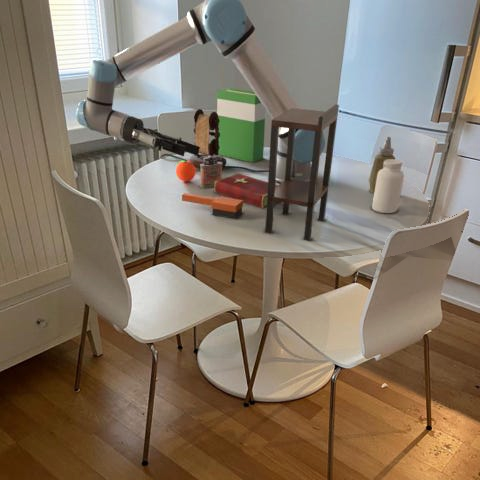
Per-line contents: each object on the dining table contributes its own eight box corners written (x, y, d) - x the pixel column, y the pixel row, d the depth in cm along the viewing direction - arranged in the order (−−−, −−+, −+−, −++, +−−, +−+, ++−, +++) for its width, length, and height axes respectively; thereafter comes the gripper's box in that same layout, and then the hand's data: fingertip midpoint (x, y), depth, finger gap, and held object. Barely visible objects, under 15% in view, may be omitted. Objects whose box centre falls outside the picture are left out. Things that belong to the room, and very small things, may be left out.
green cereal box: (217, 154, 210) (217, 90, 196) (228, 150, 215) (228, 87, 201) (252, 162, 202) (255, 95, 188) (263, 158, 207) (266, 93, 193)
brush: (179, 209, 159) (178, 196, 156) (187, 203, 163) (187, 190, 161) (235, 219, 153) (236, 206, 151) (242, 212, 157) (243, 200, 155)
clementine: (170, 182, 180) (168, 161, 176) (179, 176, 185) (178, 156, 181) (190, 185, 177) (189, 164, 173) (199, 179, 183) (198, 159, 178)
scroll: (179, 167, 194) (177, 110, 182) (203, 159, 204) (202, 104, 192) (210, 175, 187) (210, 116, 176) (234, 166, 197) (234, 110, 186)
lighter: (202, 188, 175) (202, 158, 169) (198, 185, 177) (198, 156, 171) (224, 185, 178) (224, 156, 172) (219, 182, 180) (219, 153, 175)
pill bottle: (368, 205, 166) (376, 157, 157) (392, 204, 166) (401, 157, 158) (375, 214, 159) (384, 165, 150) (400, 213, 160) (411, 165, 151)
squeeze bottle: (391, 196, 173) (402, 141, 162) (366, 194, 174) (376, 139, 163) (390, 189, 179) (400, 135, 169) (366, 187, 180) (376, 133, 170)
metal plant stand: (265, 232, 145) (272, 111, 127) (283, 212, 158) (292, 100, 140) (309, 240, 141) (322, 116, 123) (324, 219, 154) (339, 104, 136)
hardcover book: (262, 208, 160) (263, 195, 158) (214, 192, 172) (214, 180, 169) (285, 199, 168) (286, 186, 166) (237, 184, 179) (238, 172, 177)
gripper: (140, 141, 167) (200, 163, 165) (105, 140, 144) (174, 165, 142) (145, 117, 164) (206, 139, 162) (110, 112, 141) (181, 137, 139)
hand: (191, 151), depth 152 cm, fingers open, 13 cm apart
